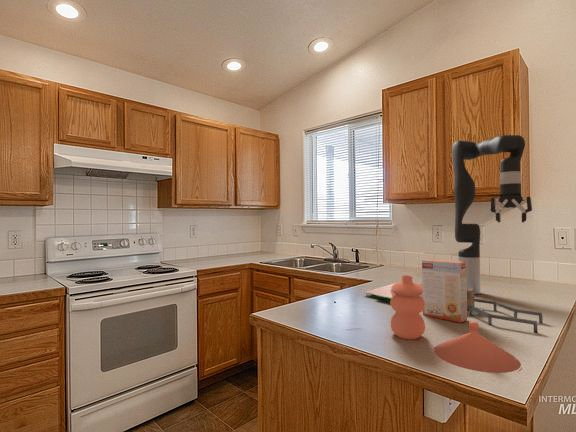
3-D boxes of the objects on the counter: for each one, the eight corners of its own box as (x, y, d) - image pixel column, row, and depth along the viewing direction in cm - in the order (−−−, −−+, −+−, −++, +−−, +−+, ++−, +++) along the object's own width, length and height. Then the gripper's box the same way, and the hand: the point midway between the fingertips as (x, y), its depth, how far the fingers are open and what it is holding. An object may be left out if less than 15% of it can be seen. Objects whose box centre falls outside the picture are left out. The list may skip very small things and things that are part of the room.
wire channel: (432, 314, 130) (432, 305, 130) (451, 303, 146) (451, 295, 147) (537, 333, 109) (537, 322, 109) (545, 317, 125) (545, 307, 125)
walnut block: (457, 309, 136) (456, 289, 136) (460, 307, 140) (460, 287, 140) (471, 311, 133) (470, 290, 133) (474, 309, 136) (474, 288, 137)
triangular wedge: (359, 300, 156) (359, 282, 156) (401, 290, 177) (401, 274, 177) (405, 310, 138) (404, 289, 139) (446, 297, 159) (445, 280, 159)
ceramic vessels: (534, 358, 90) (533, 285, 90) (503, 384, 76) (502, 298, 76) (412, 326, 117) (411, 270, 117) (372, 341, 104) (372, 278, 104)
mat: (448, 310, 135) (448, 310, 135) (456, 305, 144) (456, 304, 144) (476, 315, 129) (476, 314, 129) (483, 309, 137) (483, 308, 137)
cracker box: (468, 320, 123) (467, 261, 123) (460, 323, 119) (460, 262, 119) (429, 312, 134) (429, 258, 134) (422, 315, 130) (421, 259, 130)
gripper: (488, 184, 146) (489, 222, 146) (529, 181, 136) (530, 222, 136) (492, 185, 152) (493, 222, 151) (532, 182, 142) (533, 222, 142)
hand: (510, 222), depth 144 cm, fingers open, 8 cm apart
